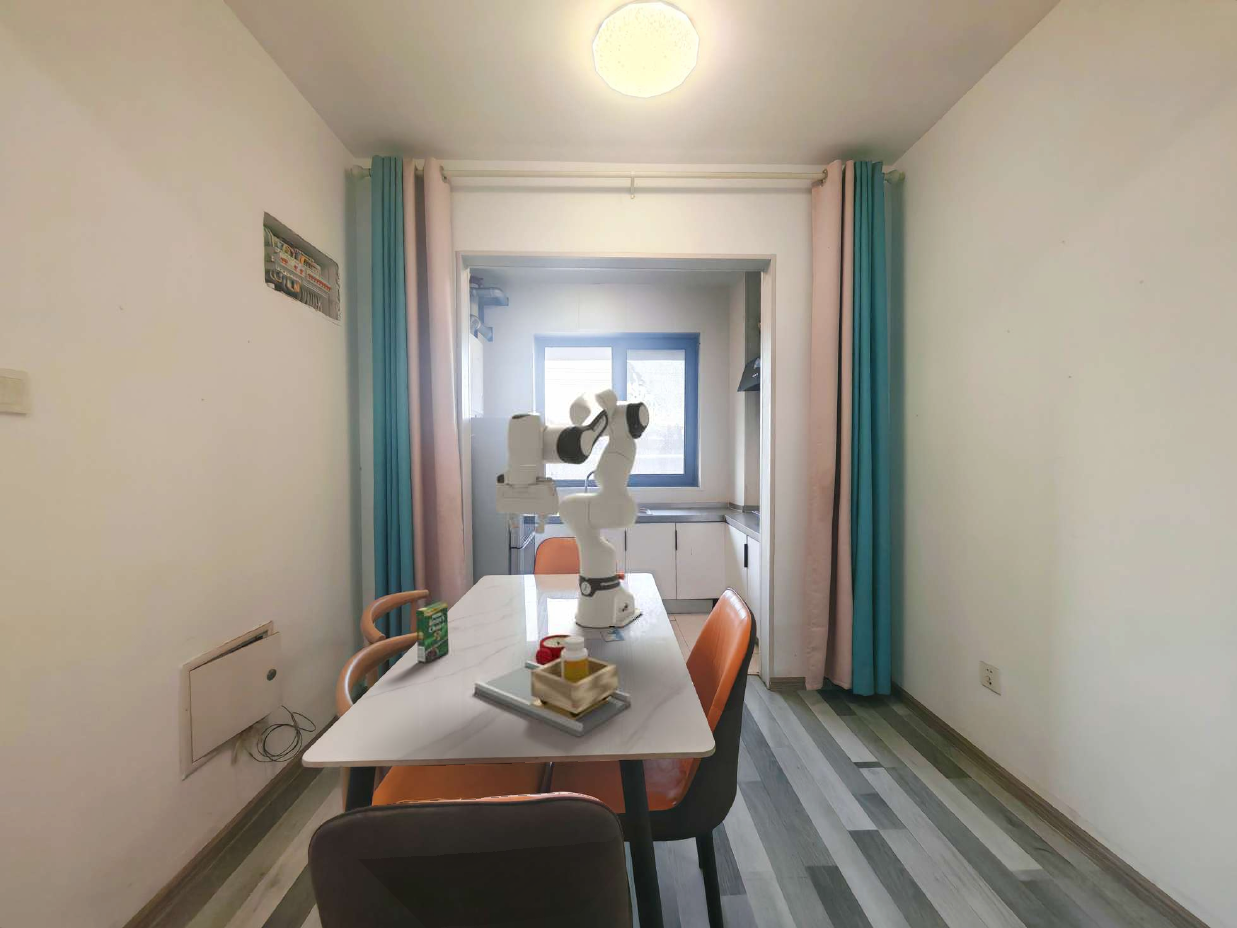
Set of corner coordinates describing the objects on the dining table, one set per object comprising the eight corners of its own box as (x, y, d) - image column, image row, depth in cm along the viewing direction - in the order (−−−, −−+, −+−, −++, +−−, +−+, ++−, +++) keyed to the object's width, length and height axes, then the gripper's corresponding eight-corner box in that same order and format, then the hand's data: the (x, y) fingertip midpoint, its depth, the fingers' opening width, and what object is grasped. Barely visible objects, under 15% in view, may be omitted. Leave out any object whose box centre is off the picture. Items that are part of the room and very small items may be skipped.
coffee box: (424, 664, 123) (424, 610, 123) (416, 662, 124) (415, 609, 124) (449, 653, 130) (448, 602, 130) (441, 651, 131) (440, 600, 131)
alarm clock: (580, 633, 133) (576, 639, 119) (580, 658, 132) (576, 668, 117) (541, 634, 133) (531, 640, 119) (540, 659, 132) (531, 669, 117)
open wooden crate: (573, 682, 108) (573, 652, 108) (617, 698, 101) (617, 665, 101) (531, 704, 99) (530, 670, 99) (576, 722, 91) (576, 686, 91)
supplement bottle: (593, 689, 99) (593, 640, 99) (568, 696, 96) (568, 645, 96) (580, 680, 104) (580, 632, 104) (556, 686, 101) (556, 637, 101)
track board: (528, 668, 119) (528, 660, 119) (630, 704, 101) (630, 694, 101) (474, 691, 107) (474, 682, 107) (579, 737, 89) (579, 725, 89)
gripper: (564, 476, 123) (565, 533, 123) (509, 476, 136) (510, 528, 136) (545, 477, 118) (546, 536, 118) (490, 477, 131) (491, 530, 131)
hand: (526, 532), depth 127 cm, fingers open, 8 cm apart
